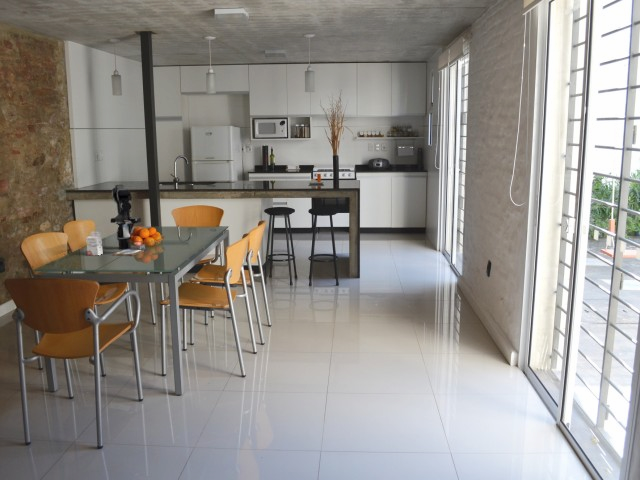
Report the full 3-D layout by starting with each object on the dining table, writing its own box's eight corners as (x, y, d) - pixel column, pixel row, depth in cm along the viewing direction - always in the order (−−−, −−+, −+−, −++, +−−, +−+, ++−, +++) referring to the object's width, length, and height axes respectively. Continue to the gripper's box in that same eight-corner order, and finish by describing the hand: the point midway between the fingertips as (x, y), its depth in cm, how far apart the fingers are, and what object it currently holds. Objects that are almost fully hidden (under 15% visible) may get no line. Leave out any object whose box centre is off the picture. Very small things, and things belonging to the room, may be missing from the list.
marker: (122, 237, 384) (121, 224, 382) (125, 236, 388) (124, 223, 386) (128, 237, 383) (127, 224, 381) (131, 236, 386) (130, 223, 385)
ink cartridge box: (87, 255, 385) (84, 232, 382) (92, 253, 390) (90, 231, 387) (98, 255, 382) (95, 232, 379) (103, 254, 387) (101, 231, 384)
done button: (133, 247, 396) (132, 242, 396) (136, 245, 400) (136, 241, 400) (139, 247, 395) (138, 243, 395) (142, 246, 399) (142, 241, 399)
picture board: (112, 255, 382) (112, 253, 382) (124, 250, 396) (124, 249, 395) (132, 256, 379) (132, 254, 379) (144, 251, 392) (144, 249, 392)
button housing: (131, 250, 396) (130, 246, 395) (136, 248, 402) (136, 244, 401) (139, 250, 394) (139, 246, 394) (145, 249, 400) (144, 244, 400)
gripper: (104, 210, 376) (106, 235, 379) (130, 211, 372) (133, 236, 375) (114, 208, 387) (116, 232, 390) (140, 208, 382) (142, 233, 385)
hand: (126, 233), depth 385 cm, fingers closed on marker, 4 cm apart
